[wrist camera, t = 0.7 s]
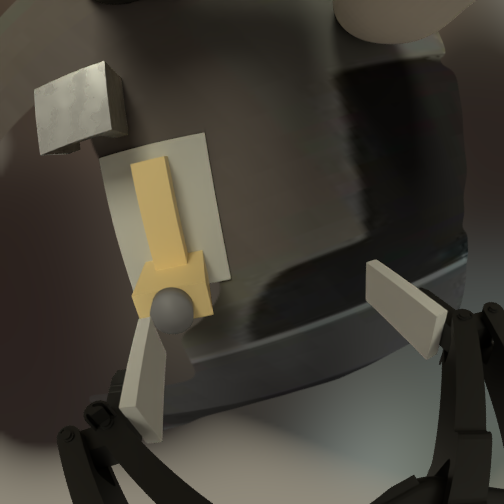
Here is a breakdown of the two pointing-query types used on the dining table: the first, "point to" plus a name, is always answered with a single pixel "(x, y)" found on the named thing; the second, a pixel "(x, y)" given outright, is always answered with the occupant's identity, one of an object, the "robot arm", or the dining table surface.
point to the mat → (187, 197)
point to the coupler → (167, 255)
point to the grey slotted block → (80, 109)
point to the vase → (396, 18)
